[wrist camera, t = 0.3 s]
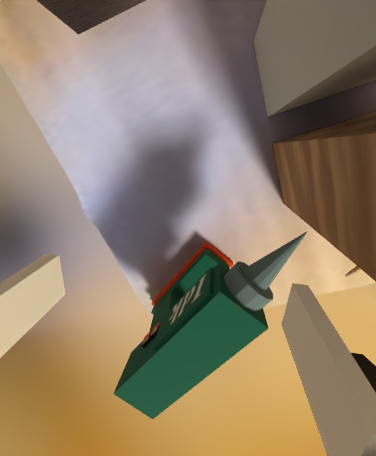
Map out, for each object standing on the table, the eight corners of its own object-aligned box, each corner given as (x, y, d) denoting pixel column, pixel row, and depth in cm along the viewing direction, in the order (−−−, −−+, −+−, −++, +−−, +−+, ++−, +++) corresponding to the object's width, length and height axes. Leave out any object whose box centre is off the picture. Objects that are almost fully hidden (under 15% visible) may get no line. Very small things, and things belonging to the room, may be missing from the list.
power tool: (254, 183, 38) (289, 217, 19) (285, 209, 39) (347, 265, 20) (150, 299, 49) (108, 393, 30) (176, 318, 49) (150, 420, 31)
